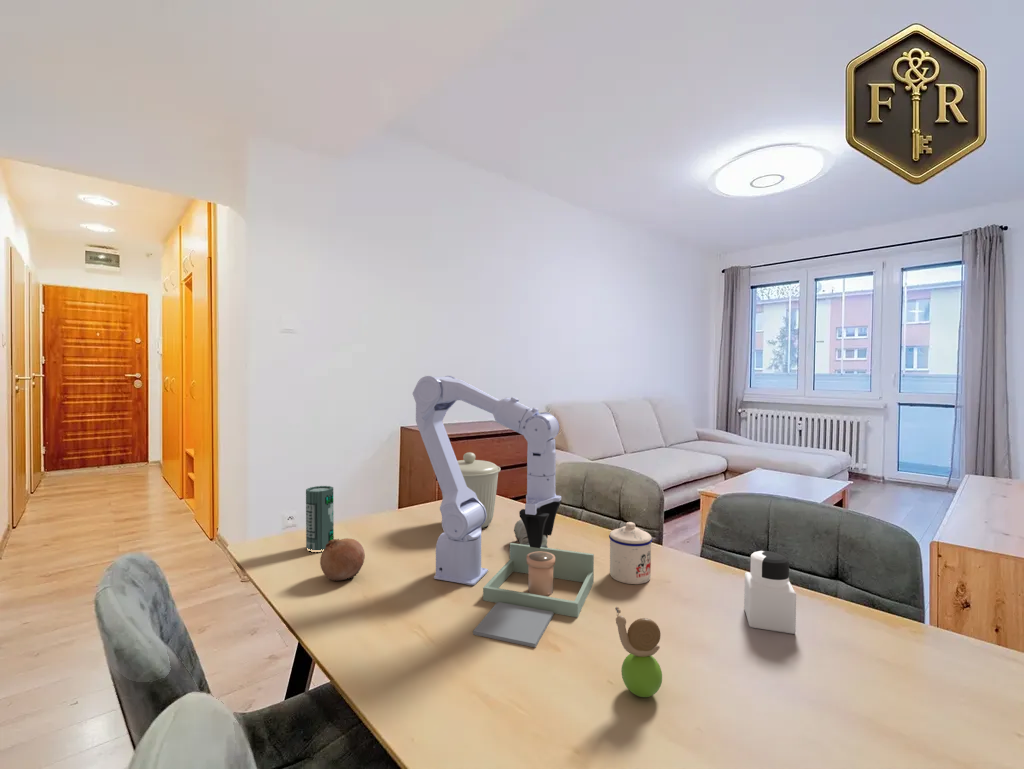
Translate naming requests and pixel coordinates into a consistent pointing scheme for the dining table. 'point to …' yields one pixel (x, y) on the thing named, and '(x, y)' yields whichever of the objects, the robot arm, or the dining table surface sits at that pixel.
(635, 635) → the snail figurine
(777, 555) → the medicine bottle
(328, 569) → the brown kiwi fruit
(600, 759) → the dining table surface
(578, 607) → the frame
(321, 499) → the can
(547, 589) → the terracotta pot
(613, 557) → the teacup with lid
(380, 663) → the dining table surface
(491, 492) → the canister
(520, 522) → the decorative bird
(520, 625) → the slate mat
